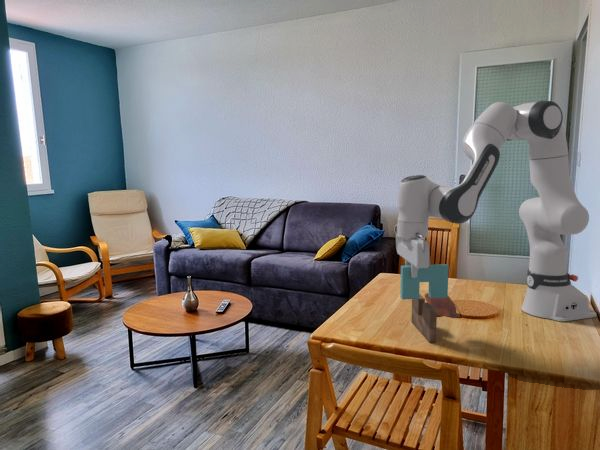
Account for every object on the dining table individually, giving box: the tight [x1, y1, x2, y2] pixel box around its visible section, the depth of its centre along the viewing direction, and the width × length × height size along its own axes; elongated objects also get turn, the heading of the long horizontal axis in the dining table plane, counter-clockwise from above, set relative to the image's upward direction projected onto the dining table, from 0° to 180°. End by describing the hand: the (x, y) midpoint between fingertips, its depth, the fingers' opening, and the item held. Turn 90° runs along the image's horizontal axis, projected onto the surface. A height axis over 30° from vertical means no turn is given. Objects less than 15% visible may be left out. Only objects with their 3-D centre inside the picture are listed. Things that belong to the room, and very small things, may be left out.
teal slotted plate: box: [400, 263, 450, 301], centre depth 130 cm, size 14×2×10 cm, turn 94°
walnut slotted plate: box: [410, 293, 438, 344], centre depth 132 cm, size 2×16×10 cm, turn 4°
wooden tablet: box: [424, 292, 462, 319], centre depth 157 cm, size 27×10×2 cm, turn 170°
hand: (411, 275), depth 129 cm, fingers closed on teal slotted plate, 2 cm apart
